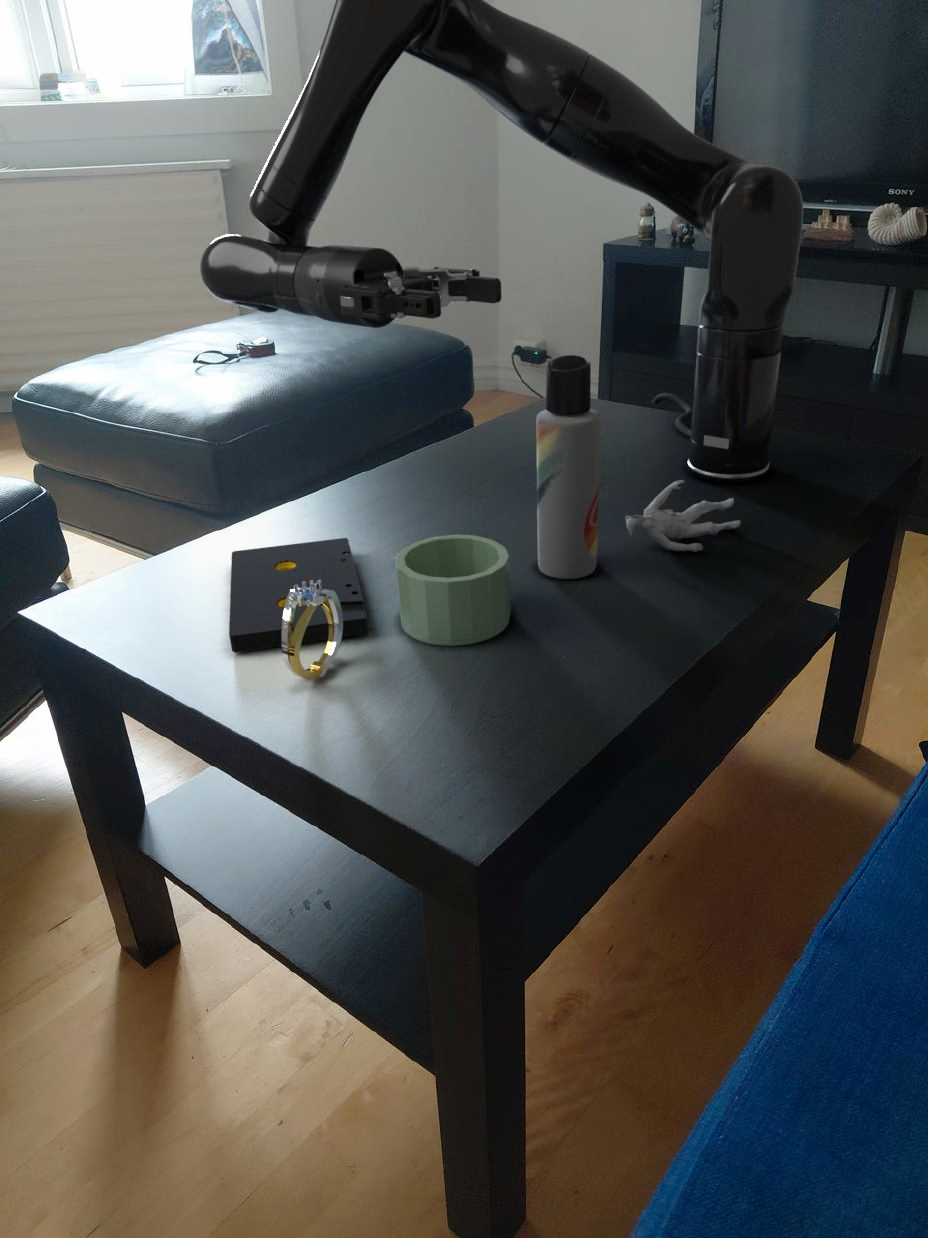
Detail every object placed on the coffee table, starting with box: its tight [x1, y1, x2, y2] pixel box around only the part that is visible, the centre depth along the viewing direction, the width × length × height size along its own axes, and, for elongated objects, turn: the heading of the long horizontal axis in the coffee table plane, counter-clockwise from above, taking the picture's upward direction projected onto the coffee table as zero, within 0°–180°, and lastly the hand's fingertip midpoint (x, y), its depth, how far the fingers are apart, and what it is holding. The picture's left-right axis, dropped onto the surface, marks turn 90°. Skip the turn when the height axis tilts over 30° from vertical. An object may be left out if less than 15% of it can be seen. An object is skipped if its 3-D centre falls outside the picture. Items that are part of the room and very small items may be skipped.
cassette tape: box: [228, 537, 369, 653], centre depth 87 cm, size 18×12×2 cm, turn 12°
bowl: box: [394, 533, 512, 647], centre depth 82 cm, size 10×10×6 cm
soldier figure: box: [624, 479, 742, 553], centre depth 95 cm, size 8×5×12 cm
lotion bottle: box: [535, 354, 601, 580], centre depth 87 cm, size 6×6×20 cm
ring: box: [281, 580, 343, 680], centre depth 74 cm, size 7×3×8 cm, turn 151°
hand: (469, 298), depth 87 cm, fingers open, 8 cm apart
